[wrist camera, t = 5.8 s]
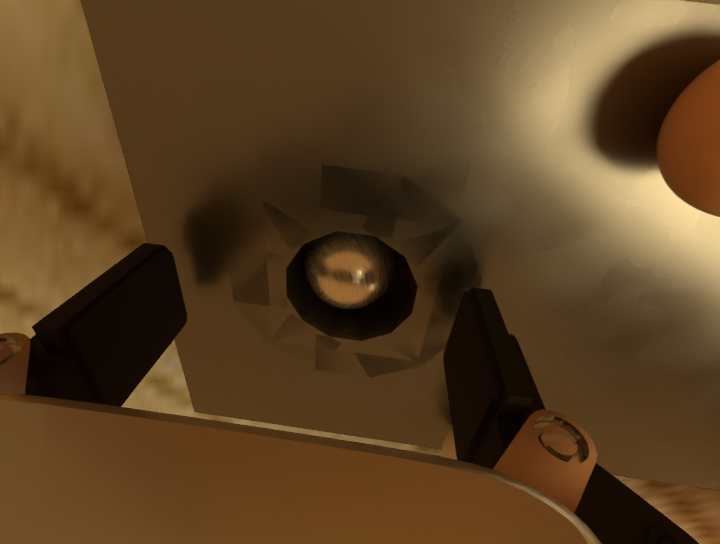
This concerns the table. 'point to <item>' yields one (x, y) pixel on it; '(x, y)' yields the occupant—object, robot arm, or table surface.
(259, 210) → the grey metal slab
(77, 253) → the table surface
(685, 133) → the terracotta ball
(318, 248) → the steel ball
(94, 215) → the table surface
